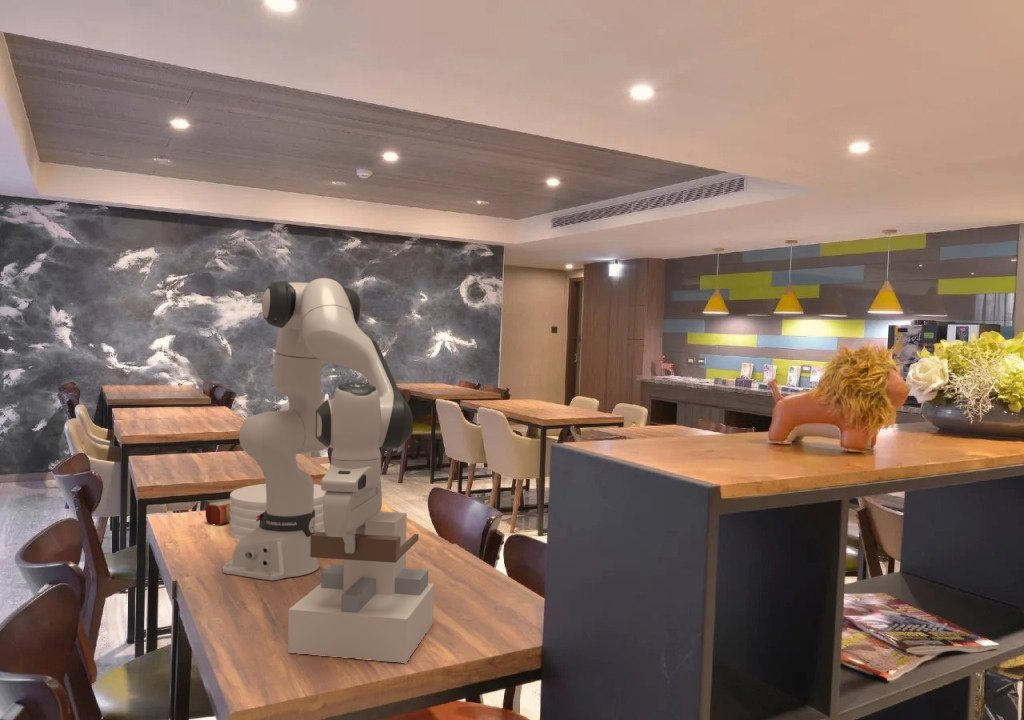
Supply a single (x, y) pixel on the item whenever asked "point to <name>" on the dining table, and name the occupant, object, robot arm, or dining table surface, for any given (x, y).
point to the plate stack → (262, 509)
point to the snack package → (218, 512)
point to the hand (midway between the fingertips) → (354, 549)
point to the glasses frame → (361, 547)
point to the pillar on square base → (365, 606)
